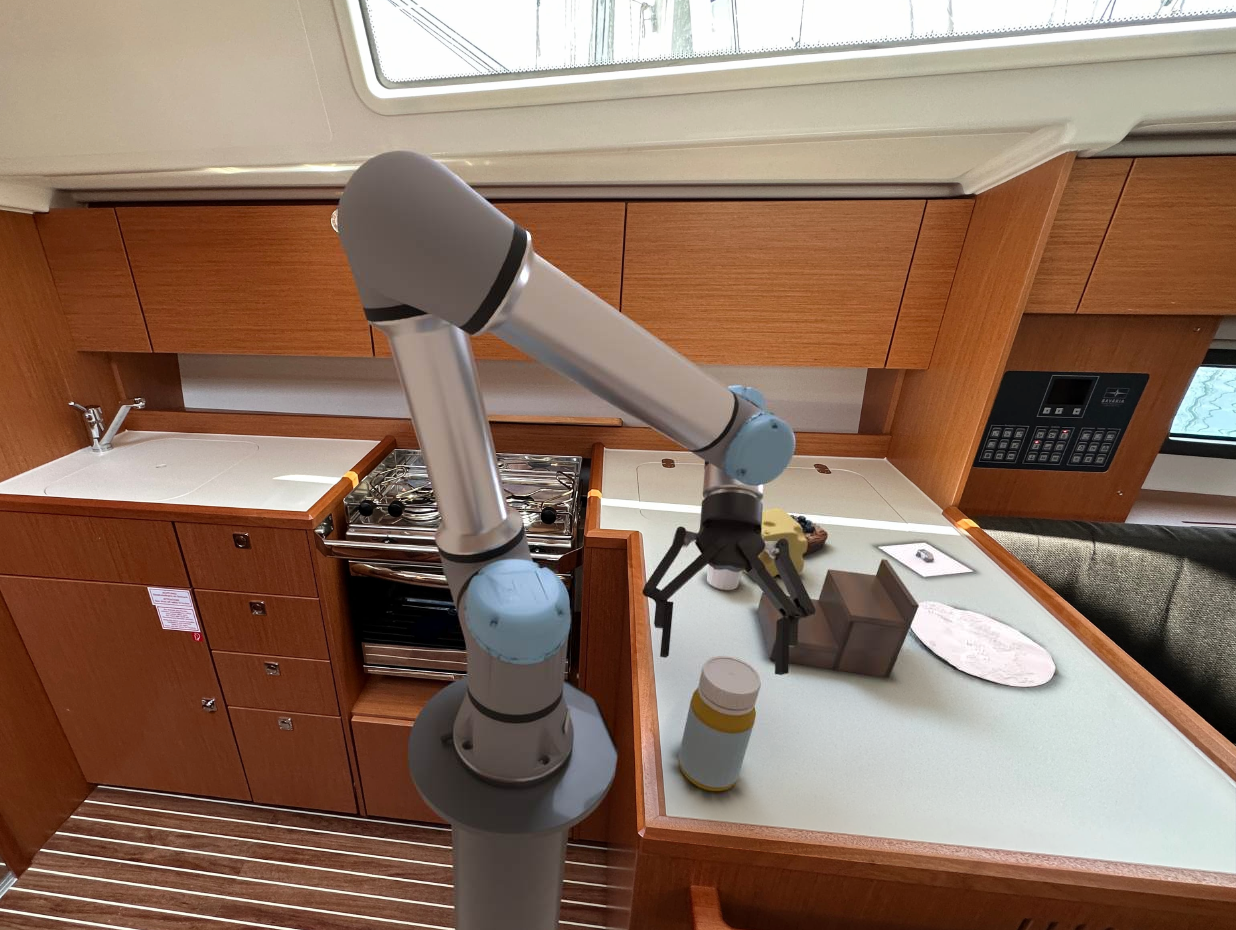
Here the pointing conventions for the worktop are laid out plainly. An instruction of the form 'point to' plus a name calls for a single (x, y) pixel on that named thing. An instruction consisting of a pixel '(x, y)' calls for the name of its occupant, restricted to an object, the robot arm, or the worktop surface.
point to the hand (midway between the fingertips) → (721, 665)
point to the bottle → (719, 723)
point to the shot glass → (723, 578)
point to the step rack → (849, 623)
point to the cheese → (785, 527)
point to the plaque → (982, 646)
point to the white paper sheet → (925, 559)
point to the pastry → (811, 535)
